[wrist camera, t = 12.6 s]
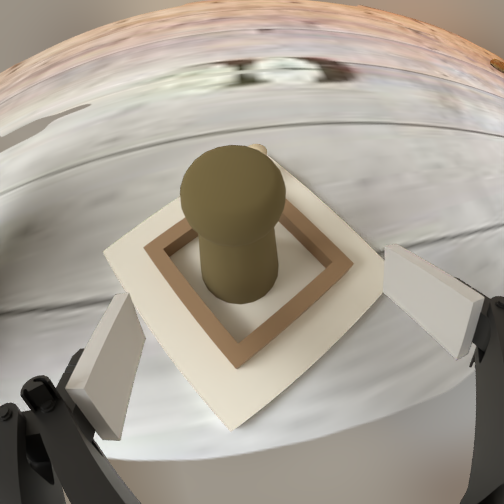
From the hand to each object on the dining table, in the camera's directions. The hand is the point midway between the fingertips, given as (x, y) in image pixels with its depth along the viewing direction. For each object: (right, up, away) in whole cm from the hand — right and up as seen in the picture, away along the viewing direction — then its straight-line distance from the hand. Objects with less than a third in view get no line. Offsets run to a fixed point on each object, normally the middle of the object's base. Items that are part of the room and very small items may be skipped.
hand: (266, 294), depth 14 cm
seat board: (-1, +1, +10) cm, 10 cm away
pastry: (+91, +70, +44) cm, 123 cm away
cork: (-2, +1, +9) cm, 9 cm away
